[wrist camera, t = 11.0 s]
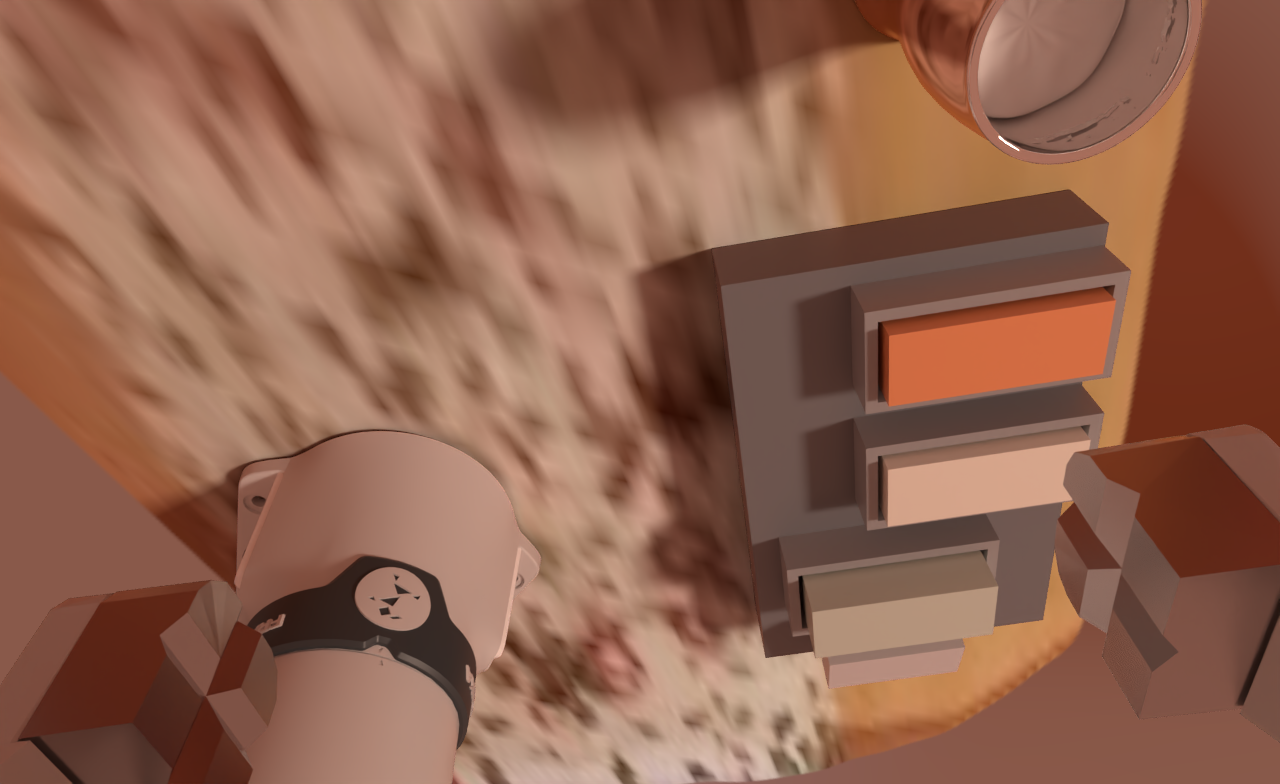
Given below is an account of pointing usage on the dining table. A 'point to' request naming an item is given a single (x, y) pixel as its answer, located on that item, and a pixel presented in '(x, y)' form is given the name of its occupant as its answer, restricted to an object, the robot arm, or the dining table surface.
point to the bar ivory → (977, 476)
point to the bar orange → (994, 346)
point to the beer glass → (1045, 66)
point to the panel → (855, 406)
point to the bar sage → (900, 604)
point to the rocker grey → (893, 663)
